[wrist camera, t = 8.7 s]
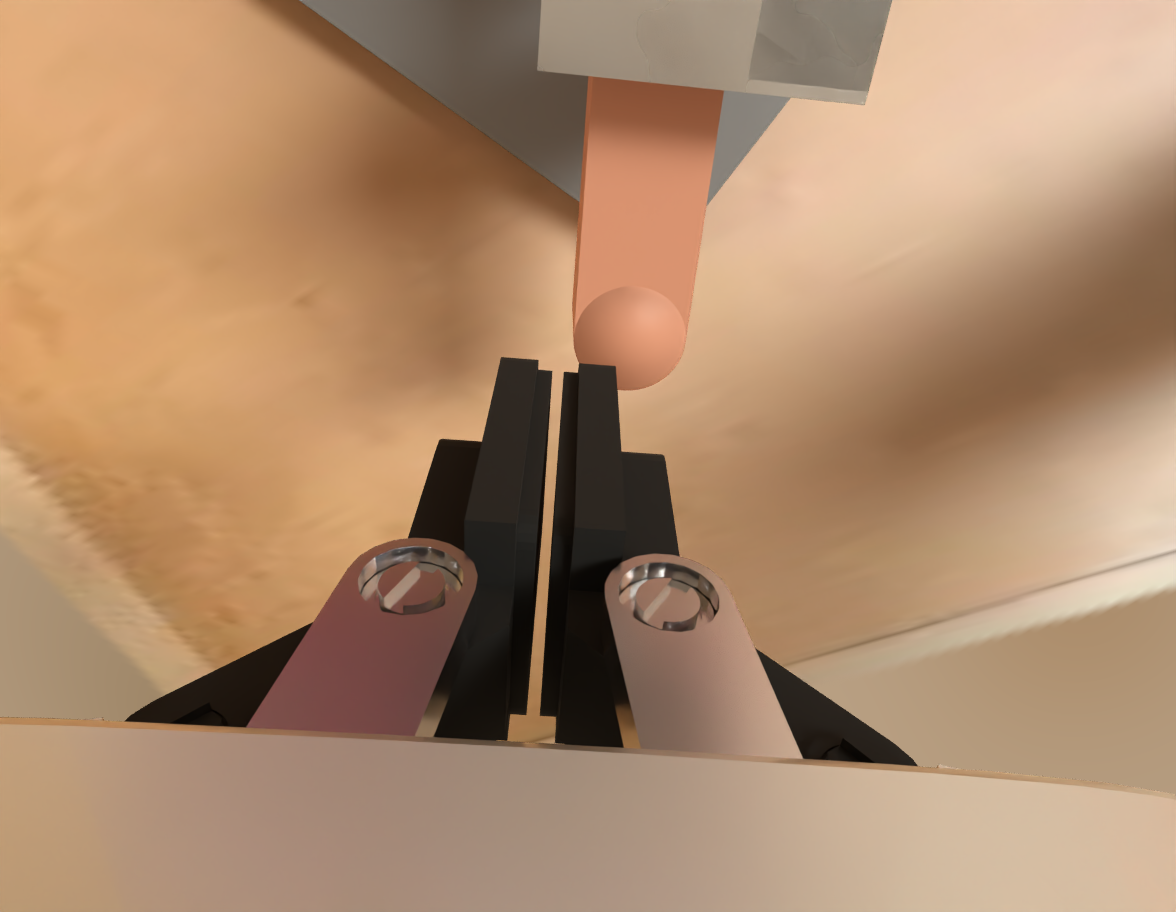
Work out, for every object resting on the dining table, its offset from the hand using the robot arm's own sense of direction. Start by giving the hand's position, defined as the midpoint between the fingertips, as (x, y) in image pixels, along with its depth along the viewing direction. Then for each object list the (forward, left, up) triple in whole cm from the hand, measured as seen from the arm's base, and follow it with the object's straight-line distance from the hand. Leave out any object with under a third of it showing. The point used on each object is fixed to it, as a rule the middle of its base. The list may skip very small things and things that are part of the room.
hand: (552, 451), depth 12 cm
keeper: (+1, -6, -18) cm, 20 cm away
